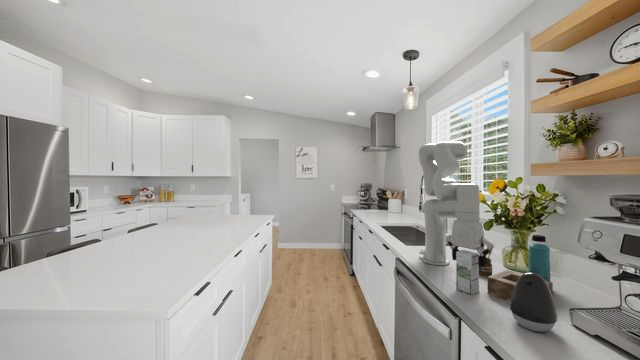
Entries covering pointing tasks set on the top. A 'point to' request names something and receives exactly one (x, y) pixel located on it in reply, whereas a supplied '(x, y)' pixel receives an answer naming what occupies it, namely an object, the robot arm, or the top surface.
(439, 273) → the top surface
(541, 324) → the dark grey egg shape
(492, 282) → the wooden tray
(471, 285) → the syrup box
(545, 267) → the beverage bottle
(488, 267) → the brown jar with stick
